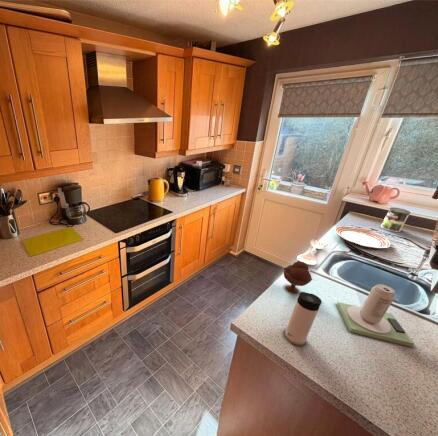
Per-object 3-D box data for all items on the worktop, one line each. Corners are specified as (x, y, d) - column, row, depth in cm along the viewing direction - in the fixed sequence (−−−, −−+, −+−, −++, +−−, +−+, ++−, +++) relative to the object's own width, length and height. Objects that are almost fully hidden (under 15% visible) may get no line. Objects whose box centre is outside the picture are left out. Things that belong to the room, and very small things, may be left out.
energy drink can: (371, 313, 91) (388, 283, 84) (383, 326, 85) (402, 295, 79) (354, 311, 92) (370, 281, 85) (364, 323, 86) (382, 293, 80)
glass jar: (391, 232, 157) (401, 213, 151) (376, 225, 166) (385, 207, 160) (405, 231, 158) (415, 212, 152) (389, 225, 167) (398, 207, 161)
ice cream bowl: (274, 281, 112) (282, 255, 105) (299, 283, 110) (308, 257, 104) (283, 297, 102) (292, 269, 96) (310, 299, 101) (321, 272, 94)
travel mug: (286, 343, 82) (302, 301, 73) (283, 328, 87) (297, 287, 79) (306, 349, 80) (325, 306, 71) (302, 333, 85) (319, 292, 77)
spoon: (327, 247, 139) (329, 242, 138) (312, 270, 119) (314, 264, 118) (310, 242, 145) (312, 237, 144) (293, 262, 125) (295, 257, 124)
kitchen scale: (389, 317, 92) (392, 312, 91) (411, 347, 80) (415, 342, 79) (336, 305, 98) (338, 300, 97) (349, 332, 86) (352, 327, 85)
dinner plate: (387, 239, 149) (390, 234, 147) (390, 257, 130) (392, 252, 129) (335, 226, 165) (336, 222, 164) (330, 240, 147) (332, 236, 145)
